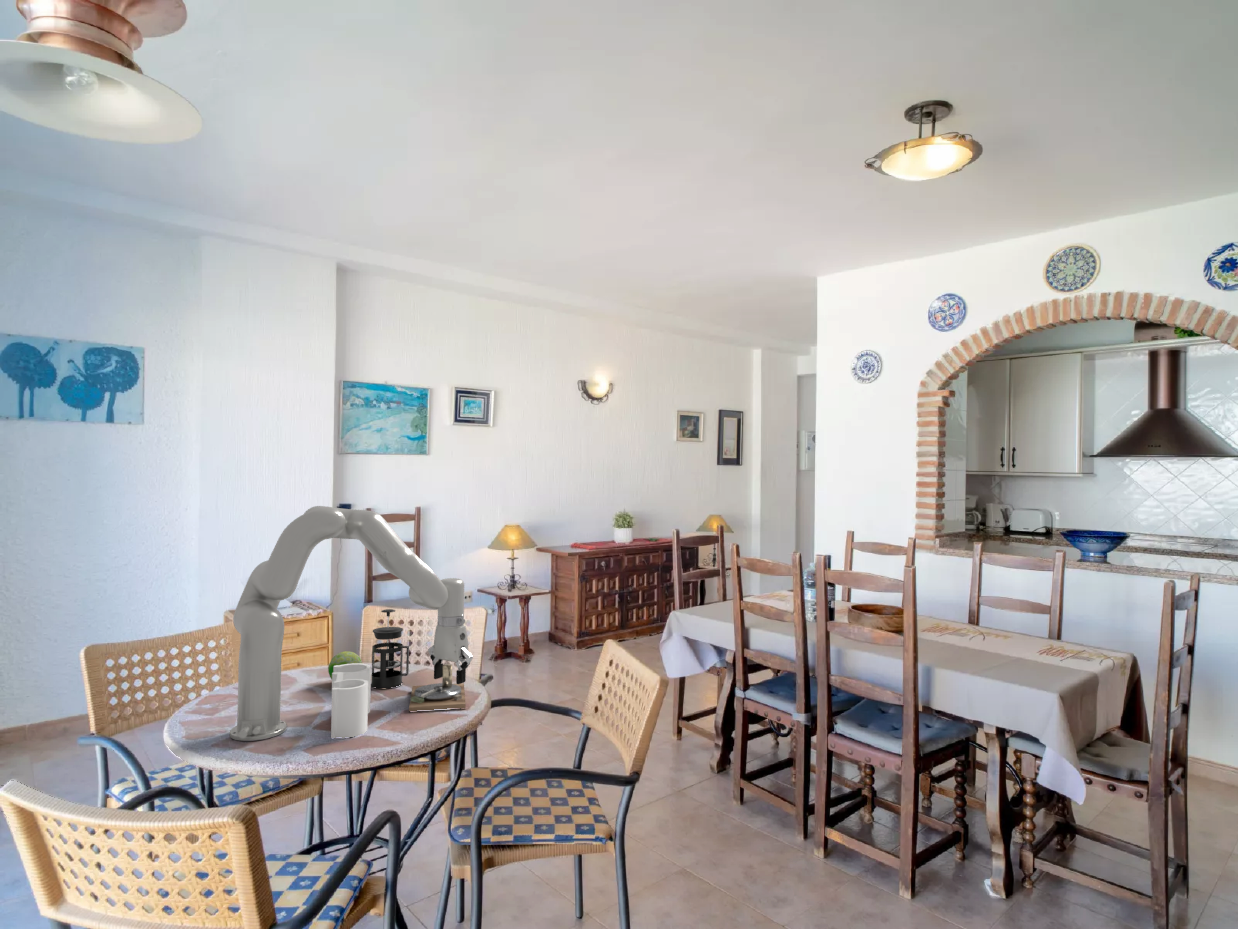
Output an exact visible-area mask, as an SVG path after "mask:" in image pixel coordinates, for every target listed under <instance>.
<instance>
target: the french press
mask: <svg viewBox="0 0 1238 929" xmlns="http://www.w3.org/2000/svg"><path fill="white" fill-rule="evenodd" d="M380 612H381V613H386V617H387V626H384V627H383V626H382V627H377V628H374V629H372V633H373V634H374V638H375V639H376V640H383V641H384V640H385V641H386V642H380V643H376V644H373V645H372V647H371V653H372V654H371V688H372V687H376V688H391V687H396V686H399V685H401V683H403V682H404V681H403V677H406V676H408V675H409V672H410V671H409V670H410V669H409V666H410V664H409V663H410V645H403V643H401V642H394V641H393V642H392V641H391V642H390V641H389V640H396V639H400V638H401V637H402V635H403V634H402V632H403V631H404V629H403V627H400V626H389V624H390V622H389V620H390V616H391V613H394V612H396V610H395V609H392V608H387V609H382V610H381V611H380ZM404 649H406V668H405V670H406V671H405V672H406V673H403V657H404V656H403V651H404ZM398 652H400V657H399V658H400V661H399V660H395V653H398ZM375 654H380V659H379V660H380V661H377V662H375ZM399 667H400V668H399ZM397 668H399V670H395V669H397ZM375 669H377V670H378V671H375ZM402 681H403V682H402ZM403 684H404V683H403ZM401 686H402V685H401ZM399 687H400V686H399ZM396 688H397V687H396ZM391 689H392V688H391Z"/></svg>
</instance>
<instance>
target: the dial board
mask: <svg viewBox="0 0 1238 929" xmlns="http://www.w3.org/2000/svg"><path fill="white" fill-rule="evenodd" d="M453 684H454V685H458V686H460V687H461V694H460V695H456V696H454V698H451V699H446V700H435V701H432V700H424V698H420V697H415V690H416V689H417V688H419V687H421V686H425V685H426V684H424V685H422V684H421V685H412V688H411V694H410V700H409V707H408V712H409V711H417V710H434V709H447V708H466V705H467V702H466V693H465V682H464V683H461V684H457V683H453Z"/></svg>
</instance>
